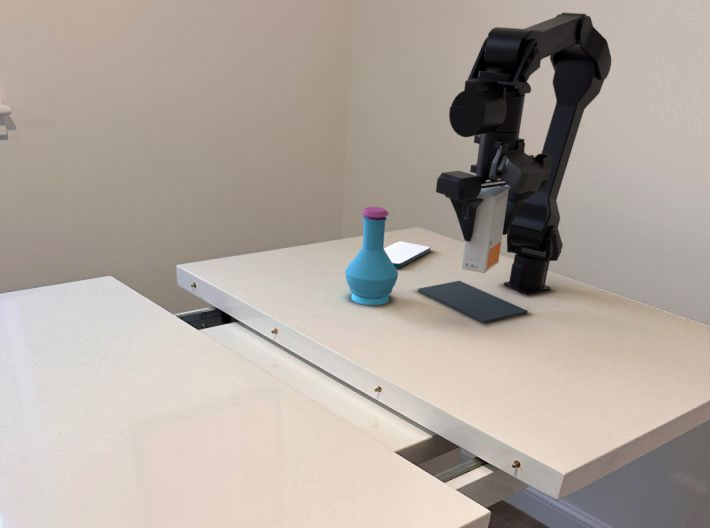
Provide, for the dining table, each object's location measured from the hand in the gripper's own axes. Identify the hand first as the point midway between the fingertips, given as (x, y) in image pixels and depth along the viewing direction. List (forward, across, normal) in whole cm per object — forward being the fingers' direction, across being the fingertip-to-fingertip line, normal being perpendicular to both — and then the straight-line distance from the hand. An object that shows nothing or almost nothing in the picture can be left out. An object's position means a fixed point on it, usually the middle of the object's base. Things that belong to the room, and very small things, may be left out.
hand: (485, 237), depth 116 cm
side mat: (+13, +3, +4) cm, 14 cm away
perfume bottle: (+13, -12, +15) cm, 23 cm away
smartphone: (+13, +8, +32) cm, 36 cm away
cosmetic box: (+5, 0, 0) cm, 5 cm away
